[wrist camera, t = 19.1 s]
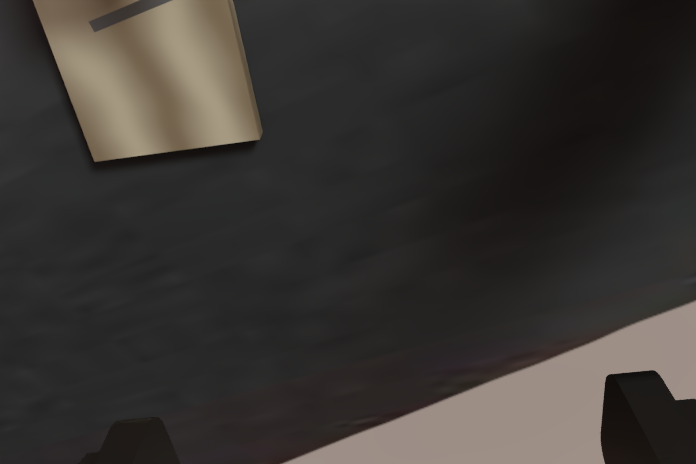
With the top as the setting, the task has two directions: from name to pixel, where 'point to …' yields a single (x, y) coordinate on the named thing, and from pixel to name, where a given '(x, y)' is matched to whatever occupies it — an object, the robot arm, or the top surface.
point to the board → (153, 73)
